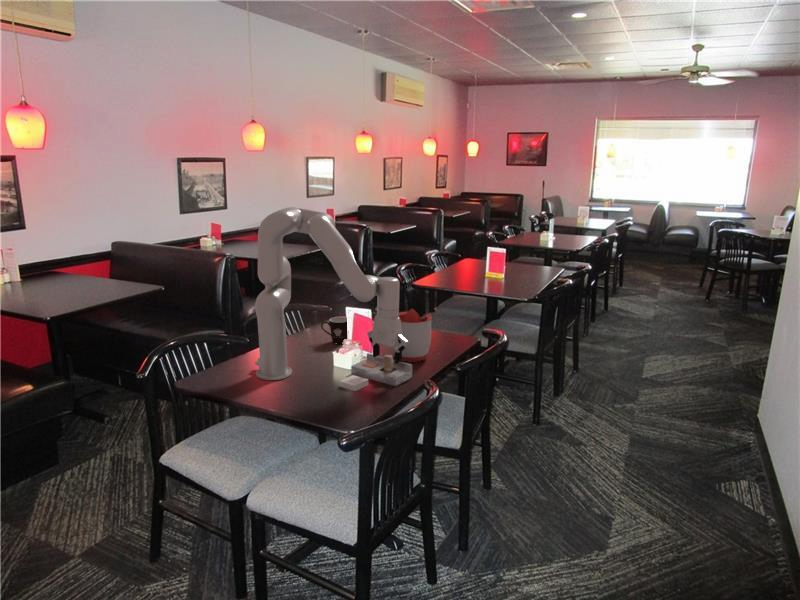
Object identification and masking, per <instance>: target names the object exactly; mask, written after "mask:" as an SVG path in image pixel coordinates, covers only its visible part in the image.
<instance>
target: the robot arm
mask: <svg viewBox="0 0 800 600" xmlns="http://www.w3.org/2000/svg"><path fill="white" fill-rule="evenodd" d="M257 231H258V232H257V277H258V279H259V281H260V282H261V283H262V284H263V285H264V287H265V288H264V289H263V290H262V291H261V292H260V293H259V294H258V295H257V297H256V300H255V303H254V304H255V305H254V310H255V314H256V320H257V329H258V330H257V331H258V346H259V358H258V359H257V361H255V362H254V365H255V366H258V370H256V372H255V374H256V378H258V379H260V380H264V381H280V380H282V379H287V378H288V377H290V376H292V374H293V369H292V368H291V367H290V366H288V352H287V351H288V349H287V329H286V319H285V318H286V317H285V313H284V309H286V307H287V306H288V304H289V303H290V301H291V297H292V267H291V263H290V262H289V260H288V259H287V257H285V256H284V242H283V238H284V237H285V236H286V235H290V234H292V233H294V232H295V233H302V234H306V235H309V237H310V238H311V239H312V241H313V242H314V243H315V245H317V246H318V248H319V249H320V250H321V252H322V253H323V254H324V256H325V257H326V258H327V259H328V261H329V262H330V263H331V265H332V267H333V269H334V270H335V272H336V274H337V275H338V277H339V279H340V281H341V282H342V283H343V285H344V286H345V287H346V289H347V290H348V291H349V292H350V294H351V295H352V296H353V297H354V298H355V299H356V300H357V301H359V302H363V303H367V302H370V301H372V300H373V299H374V298H375V296H377V301H376V302H377V305H376V307H375V308H374V310H375V311H377V312H376V315H375V316H374V319H373V326H372V330H370V331H367V337H368V340H369V342H370V345H371V346H372V354H373V357H376V356H380V353H381V352H380V350H381V346H380V345H382V346H385V347H389V348H393V349H394V348H395V350H396V352H395V350H394V360H395V363H399V362H402V351H403V350H404V349H405V348H406V346H407V345H408V343H409V342H408V340H406V339H405V338H404V337H403V336H402V329H401V320H400V317H399V312H400V286H401V285H400V284H401V283H400V280H399V279H398V278H397V277H393V276H383V277H382V276H377V275H376V276H375V275H372V274H371V275H370V274H364V272H363V271H362V269H361V268H360V267H359V265H358V263H357V261H356V259H355V255H354V252H353V249H352V247H351V246H350V244H349V243H348V242H347V240H346V239H345V238H344V236H343V235H342V234H341V233H340V232H339V230H338V229H337V228H336V221H335V219H334V218H333V216H332V215H331V214H328V213H326V212H321V211H316V210H312V209H311V210H310V209H305V208H301V207H300V208H299V207H292V206H291V207H285V208H281V209H279V210H277V211H274V212H272V213H270V214H269V215H267V216H266V217H264V218H263V220H262V221H261V222H260V225H259V227H258V230H257ZM401 342H402V343H403V345H401ZM398 347H399V348H398Z"/></svg>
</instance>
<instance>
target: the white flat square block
mask: <svg viewBox="0 0 800 600" xmlns="http://www.w3.org/2000/svg"><path fill="white" fill-rule="evenodd" d="M367 386H369V379H368V378H365V377H361V376H358V375H354V374H351V375H349V376H347V377H345V378H343V379H341V380H339V387H340V388H344V389H346V390H350V391H352V392H353V391H354V392H357V391H359V390H361V389H364V388H365V387H367Z"/></svg>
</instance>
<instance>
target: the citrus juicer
mask: <svg viewBox="0 0 800 600" xmlns="http://www.w3.org/2000/svg"><path fill="white" fill-rule="evenodd" d="M399 317H400V320H401V329H402V336H403V337H404V338H405V339H406V340H408V342H409V343H408V345H407V346H406V348H405V349H404V350H403V351H402V360H401V362H406V361H407V362H406V363H413V362H414V363H417V361H418V362H422V361H424V360H426V359H427V356H428V354H429V350H430V346H431V340H432V319H433V316H432V315H431V314H429V313H427V314H426V315H424V317H423V318H422V317H420V315H419V313H418V312H417V311H416V310H415V309H414V308H410V309H409V310H408V311H399ZM401 345H403V343H402V342H401ZM398 348H399V347H398ZM393 350H394V353H395V352H396V350H395V348H394V347H393ZM421 360H422V361H421Z"/></svg>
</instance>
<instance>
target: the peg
mask: <svg viewBox="0 0 800 600" xmlns="http://www.w3.org/2000/svg"><path fill="white" fill-rule="evenodd" d="M383 357H384V372H387V373H391V372H393V360H394V358H393V355H392V354H386V355H383Z"/></svg>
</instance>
